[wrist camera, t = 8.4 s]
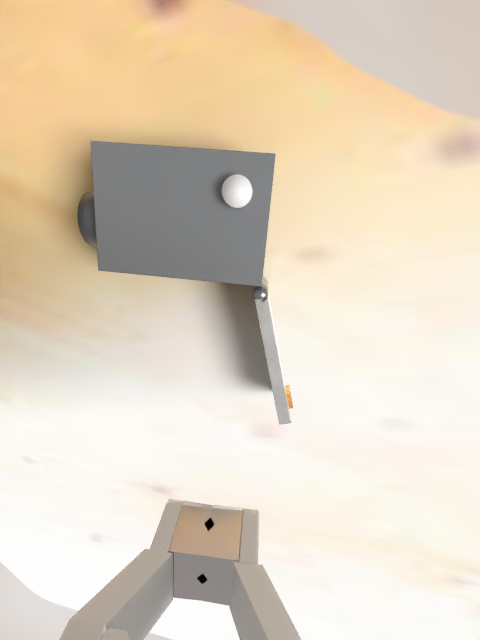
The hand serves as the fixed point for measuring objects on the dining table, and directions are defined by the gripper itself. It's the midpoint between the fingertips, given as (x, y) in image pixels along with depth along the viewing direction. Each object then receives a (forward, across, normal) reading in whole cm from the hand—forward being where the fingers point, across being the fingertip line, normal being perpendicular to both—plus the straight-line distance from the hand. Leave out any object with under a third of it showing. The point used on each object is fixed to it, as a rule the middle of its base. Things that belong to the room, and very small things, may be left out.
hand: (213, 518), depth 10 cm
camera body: (+14, +4, -10) cm, 18 cm away
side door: (+14, -2, -1) cm, 15 cm away
